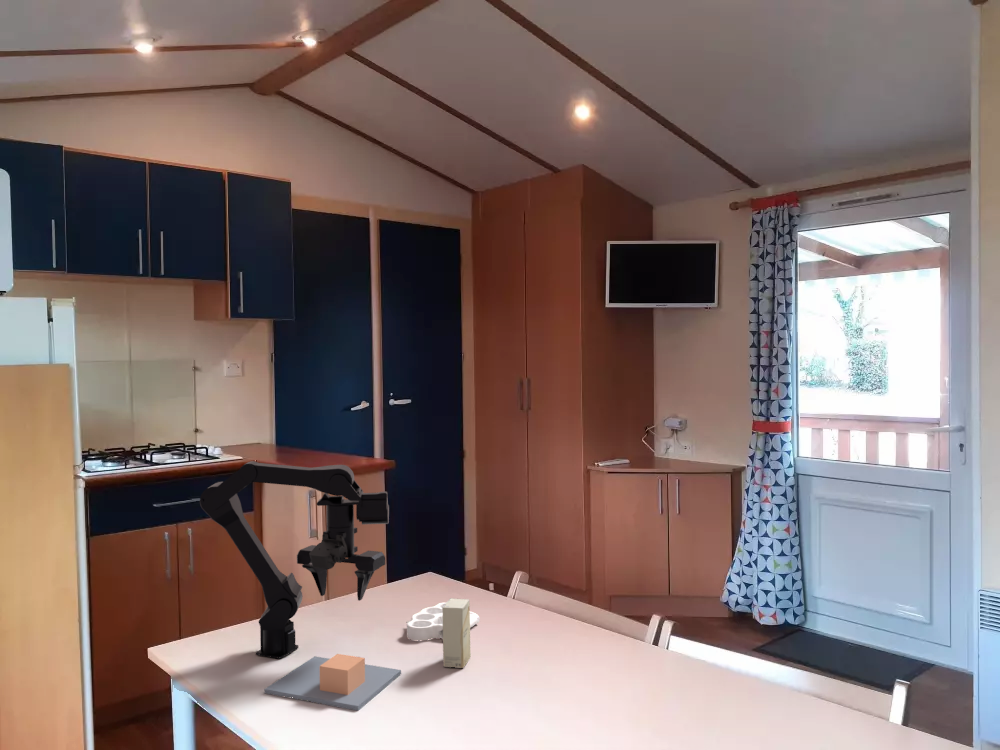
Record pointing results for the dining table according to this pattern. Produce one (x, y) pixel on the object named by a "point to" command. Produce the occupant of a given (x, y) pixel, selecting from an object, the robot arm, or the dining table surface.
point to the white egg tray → (431, 623)
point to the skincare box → (456, 633)
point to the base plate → (307, 687)
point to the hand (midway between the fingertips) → (341, 597)
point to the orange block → (342, 674)
